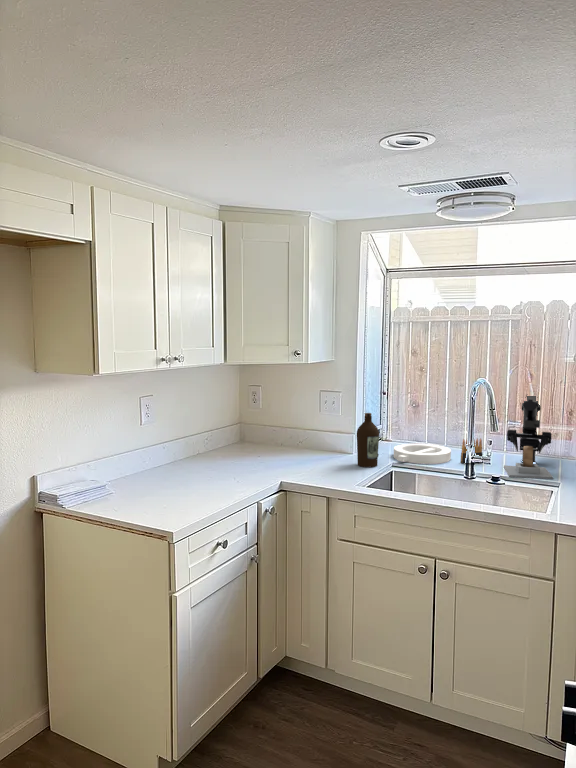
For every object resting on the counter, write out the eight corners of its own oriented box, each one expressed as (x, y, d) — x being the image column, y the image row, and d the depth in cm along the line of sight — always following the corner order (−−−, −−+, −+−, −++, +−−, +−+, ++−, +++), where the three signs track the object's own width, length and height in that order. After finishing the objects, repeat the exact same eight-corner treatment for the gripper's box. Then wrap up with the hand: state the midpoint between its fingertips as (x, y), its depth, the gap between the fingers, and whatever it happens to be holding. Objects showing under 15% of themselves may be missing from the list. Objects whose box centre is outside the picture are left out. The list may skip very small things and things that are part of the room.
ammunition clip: (462, 463, 287) (462, 439, 286) (460, 462, 289) (461, 438, 288) (482, 462, 289) (483, 438, 288) (480, 461, 291) (481, 437, 290)
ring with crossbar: (443, 452, 313) (443, 443, 313) (456, 465, 286) (456, 455, 285) (390, 452, 314) (390, 443, 314) (398, 464, 287) (398, 454, 286)
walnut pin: (521, 470, 270) (521, 446, 269) (528, 469, 271) (529, 445, 270) (526, 472, 266) (527, 448, 265) (534, 471, 267) (535, 447, 266)
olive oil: (351, 464, 285) (352, 412, 282) (368, 461, 291) (369, 411, 288) (366, 468, 276) (367, 415, 274) (383, 466, 282) (384, 413, 279)
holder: (503, 467, 279) (504, 460, 279) (544, 469, 275) (545, 462, 275) (509, 476, 261) (509, 469, 261) (553, 479, 257) (553, 471, 257)
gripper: (508, 412, 274) (506, 440, 265) (552, 414, 267) (551, 443, 258) (508, 426, 282) (506, 454, 273) (551, 429, 275) (550, 457, 266)
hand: (528, 451), depth 267 cm, fingers open, 9 cm apart
